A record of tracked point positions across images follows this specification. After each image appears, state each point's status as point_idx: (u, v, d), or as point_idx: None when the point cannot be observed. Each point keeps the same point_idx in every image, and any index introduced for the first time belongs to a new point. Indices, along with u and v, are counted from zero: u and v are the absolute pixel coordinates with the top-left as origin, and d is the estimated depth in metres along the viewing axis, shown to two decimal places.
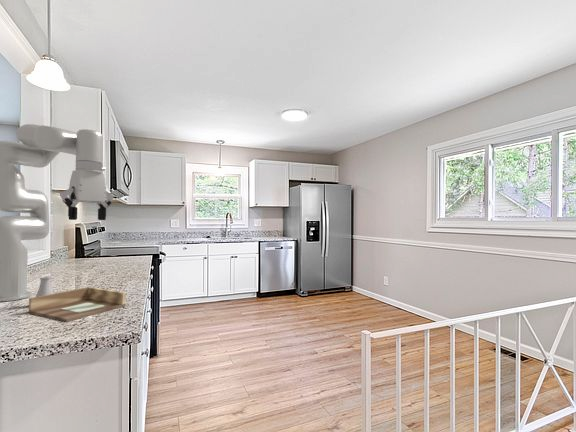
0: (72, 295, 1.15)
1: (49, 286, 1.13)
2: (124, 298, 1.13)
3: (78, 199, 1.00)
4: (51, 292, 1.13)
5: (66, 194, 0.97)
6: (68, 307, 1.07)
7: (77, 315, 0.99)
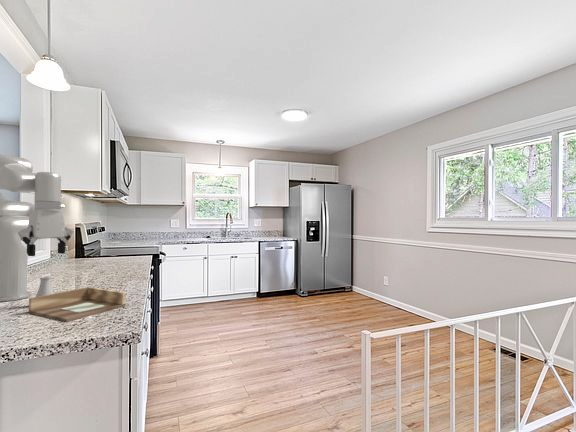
0: (72, 295, 1.15)
1: (49, 286, 1.13)
2: (124, 298, 1.13)
3: (36, 237, 1.08)
4: (51, 292, 1.13)
5: (24, 233, 1.06)
6: (68, 307, 1.07)
7: (77, 315, 0.99)
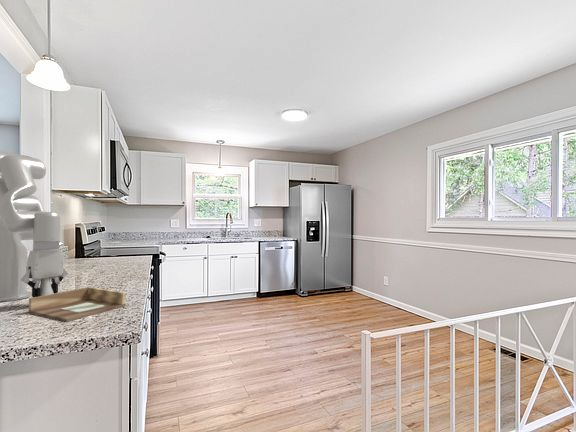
0: (72, 295, 1.15)
1: (49, 286, 1.13)
2: (124, 298, 1.13)
3: (34, 278, 1.08)
4: (51, 292, 1.13)
5: (27, 279, 1.07)
6: (68, 307, 1.07)
7: (77, 315, 0.99)
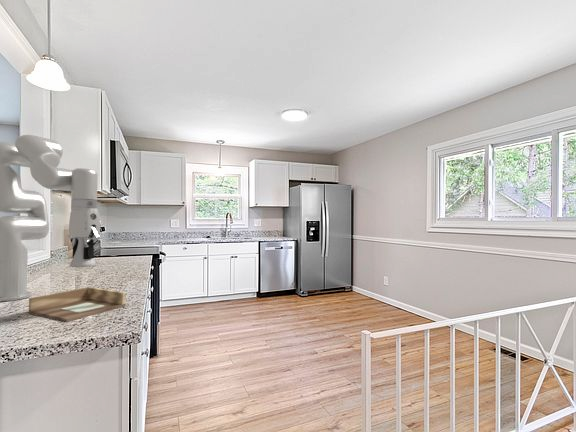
0: (72, 295, 1.15)
1: (80, 247, 1.06)
2: (124, 298, 1.13)
3: (70, 236, 1.08)
4: (80, 253, 1.06)
5: None
6: (68, 307, 1.07)
7: (77, 315, 0.99)
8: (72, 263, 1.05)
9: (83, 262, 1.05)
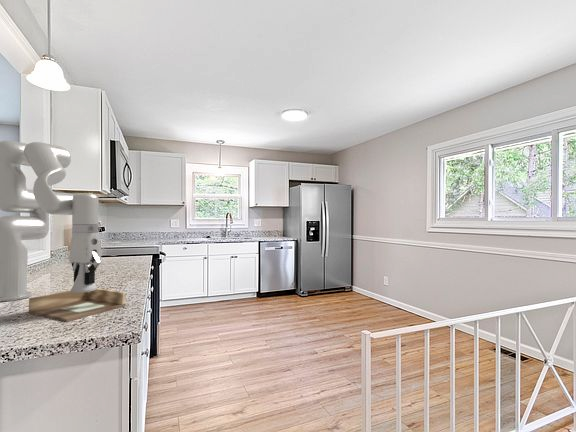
0: (72, 295, 1.15)
1: (81, 272, 1.06)
2: (124, 298, 1.13)
3: (71, 260, 1.08)
4: (81, 279, 1.05)
5: None
6: (68, 307, 1.07)
7: (77, 315, 0.99)
8: (73, 288, 1.05)
9: (84, 287, 1.05)
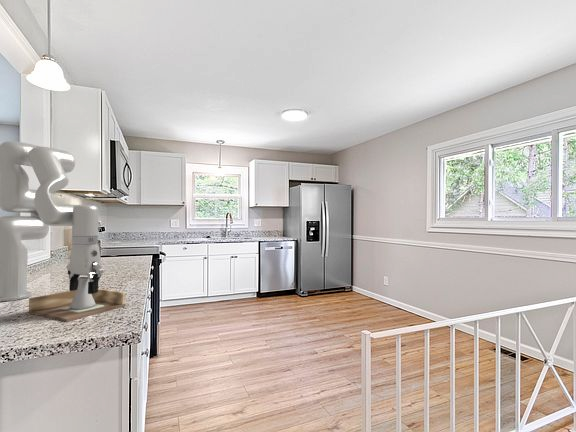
0: (72, 295, 1.15)
1: (80, 288, 1.06)
2: (124, 298, 1.13)
3: (70, 272, 1.08)
4: (80, 295, 1.05)
5: (68, 267, 1.10)
6: (68, 307, 1.07)
7: (77, 315, 0.99)
8: (72, 305, 1.05)
9: (83, 304, 1.05)
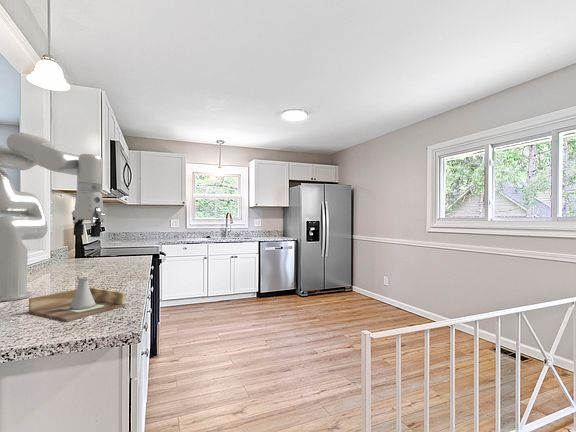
0: (72, 295, 1.15)
1: (80, 288, 1.06)
2: (124, 298, 1.13)
3: (75, 217, 1.15)
4: (80, 295, 1.05)
5: (73, 213, 1.17)
6: (68, 307, 1.07)
7: (77, 315, 0.99)
8: (72, 305, 1.05)
9: (83, 304, 1.05)
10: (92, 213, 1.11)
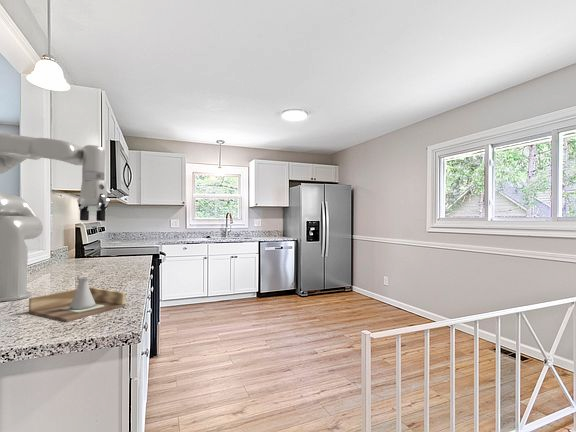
0: (72, 295, 1.15)
1: (80, 288, 1.06)
2: (124, 298, 1.13)
3: (81, 204, 1.25)
4: (80, 295, 1.05)
5: (79, 201, 1.27)
6: (68, 307, 1.07)
7: (77, 315, 0.99)
8: (72, 305, 1.05)
9: (83, 304, 1.05)
10: (97, 199, 1.21)
